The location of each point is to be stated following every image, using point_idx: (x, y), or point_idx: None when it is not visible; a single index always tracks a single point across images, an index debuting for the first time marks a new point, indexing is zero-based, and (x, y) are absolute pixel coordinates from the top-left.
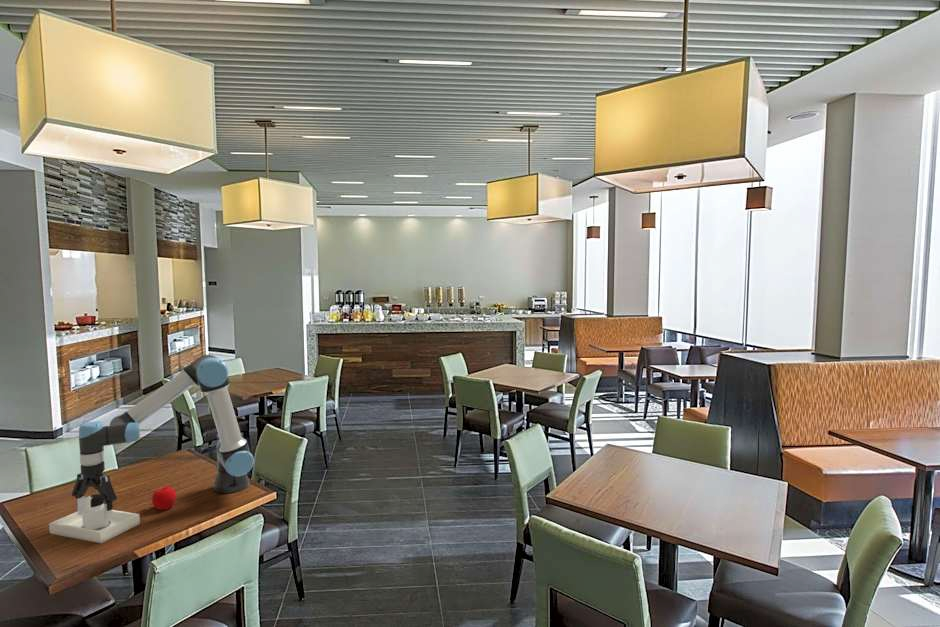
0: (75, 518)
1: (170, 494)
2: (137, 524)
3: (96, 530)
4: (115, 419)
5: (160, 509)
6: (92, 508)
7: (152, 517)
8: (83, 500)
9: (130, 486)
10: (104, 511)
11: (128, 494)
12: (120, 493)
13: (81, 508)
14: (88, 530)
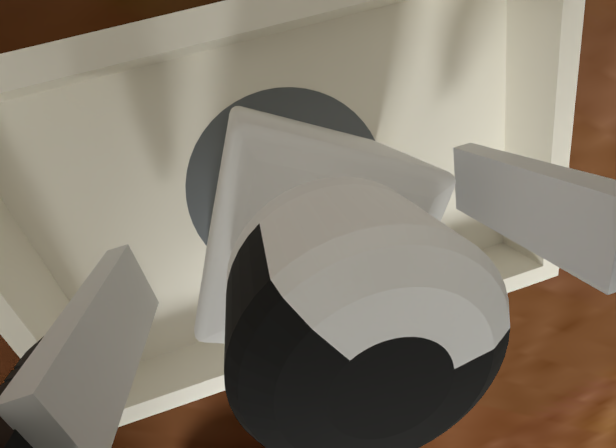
0: (517, 154)
1: None
2: None
3: None
4: None
5: None
6: (246, 232)
7: (157, 434)
8: (564, 245)
9: (603, 440)
10: (85, 300)
11: (544, 420)
12: (587, 402)
13: (494, 186)
14: (24, 51)
